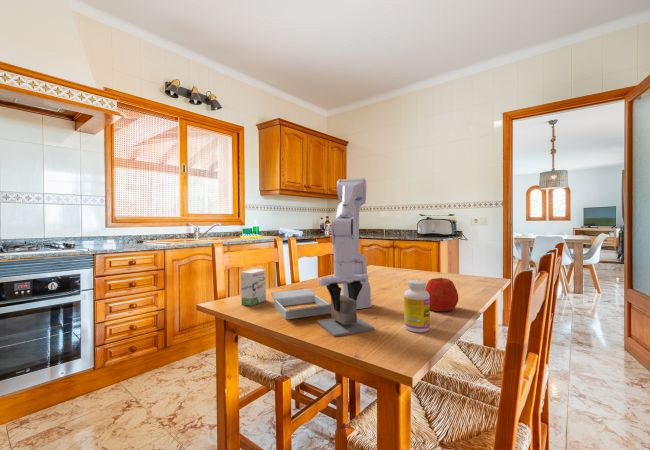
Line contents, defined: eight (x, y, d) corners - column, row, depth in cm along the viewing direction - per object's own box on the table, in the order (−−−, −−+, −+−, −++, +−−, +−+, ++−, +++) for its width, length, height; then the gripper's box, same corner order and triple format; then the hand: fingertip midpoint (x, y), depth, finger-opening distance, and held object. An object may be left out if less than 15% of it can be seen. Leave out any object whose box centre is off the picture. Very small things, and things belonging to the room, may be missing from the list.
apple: (453, 316, 92) (453, 281, 92) (418, 310, 99) (418, 278, 99) (462, 308, 101) (461, 276, 101) (429, 303, 107) (429, 273, 107)
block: (343, 315, 90) (343, 295, 90) (356, 322, 83) (356, 300, 83) (331, 317, 88) (330, 296, 89) (343, 324, 81) (343, 302, 81)
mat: (353, 317, 93) (353, 315, 93) (374, 329, 82) (374, 327, 82) (316, 322, 88) (316, 320, 88) (334, 337, 77) (334, 334, 77)
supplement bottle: (426, 335, 78) (426, 285, 78) (401, 330, 81) (400, 282, 81) (432, 327, 84) (432, 280, 83) (408, 323, 87) (408, 278, 87)
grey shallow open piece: (311, 299, 115) (311, 288, 115) (336, 316, 94) (336, 303, 94) (271, 303, 109) (271, 292, 109) (289, 323, 88) (289, 309, 88)
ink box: (251, 306, 106) (251, 272, 106) (240, 304, 108) (240, 271, 108) (266, 300, 114) (266, 269, 113) (256, 299, 116) (255, 268, 116)
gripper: (325, 264, 78) (326, 316, 78) (373, 261, 84) (374, 309, 84) (315, 261, 85) (316, 309, 85) (361, 258, 90) (361, 303, 91)
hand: (344, 309), depth 85 cm, fingers closed on block, 4 cm apart
